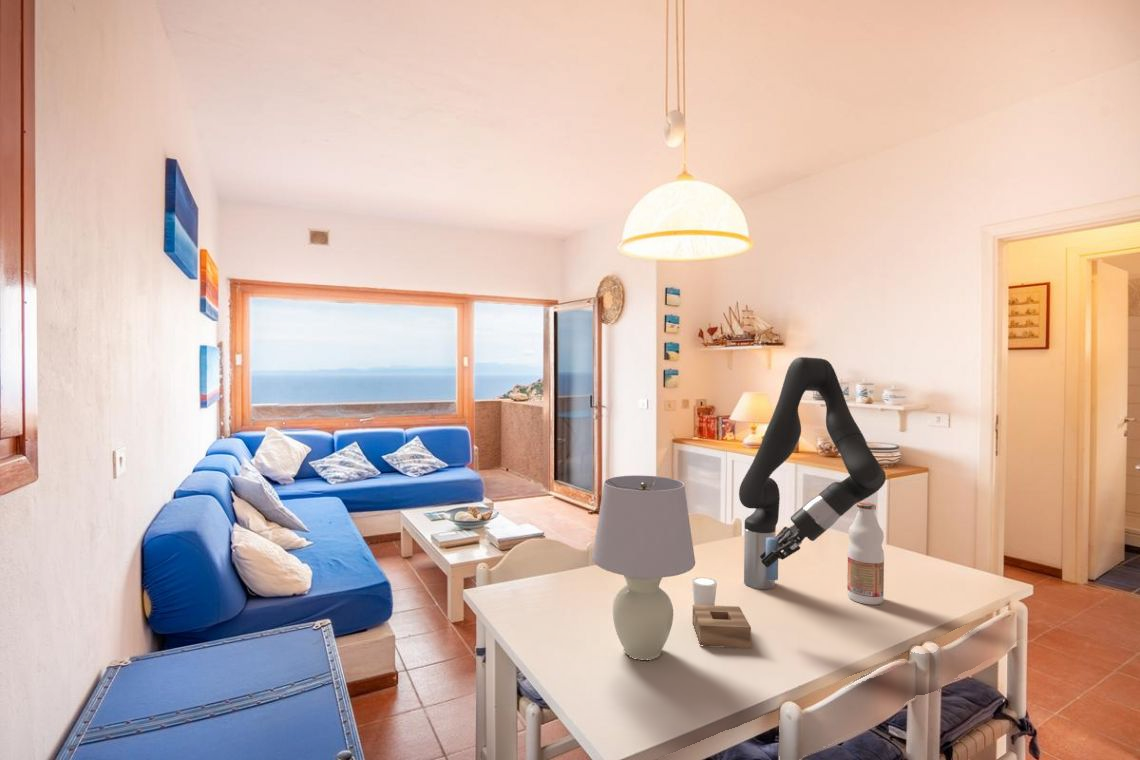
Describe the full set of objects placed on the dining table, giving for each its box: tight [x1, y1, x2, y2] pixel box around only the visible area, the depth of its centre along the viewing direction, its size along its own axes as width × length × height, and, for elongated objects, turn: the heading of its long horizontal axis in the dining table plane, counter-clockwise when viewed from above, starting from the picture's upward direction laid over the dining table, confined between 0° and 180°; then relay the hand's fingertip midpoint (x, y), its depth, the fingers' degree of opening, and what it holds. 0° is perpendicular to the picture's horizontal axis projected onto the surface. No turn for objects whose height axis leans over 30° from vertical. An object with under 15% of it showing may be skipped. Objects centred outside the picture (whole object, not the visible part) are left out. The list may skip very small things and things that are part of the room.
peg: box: [765, 537, 779, 581], centre depth 142 cm, size 3×3×10 cm
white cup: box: [691, 576, 718, 606], centre depth 158 cm, size 7×7×7 cm
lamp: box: [591, 474, 696, 660], centre depth 131 cm, size 24×24×40 cm
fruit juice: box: [846, 501, 885, 606], centre depth 163 cm, size 9×9×28 cm
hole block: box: [692, 604, 752, 649], centre depth 140 cm, size 12×12×5 cm
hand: (763, 561), depth 142 cm, fingers closed on peg, 3 cm apart
